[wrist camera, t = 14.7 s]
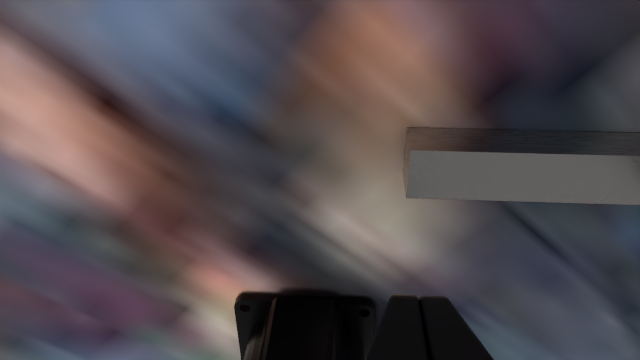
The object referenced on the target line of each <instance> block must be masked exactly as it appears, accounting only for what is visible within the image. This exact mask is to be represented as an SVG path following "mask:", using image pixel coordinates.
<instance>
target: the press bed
mask: <svg viewBox="0 0 640 360" xmlns="http://www.w3.org/2000/svg"><path fill="white" fill-rule="evenodd" d="M403 176H404V185H405V193H406V198H423V199H456V200H489V201H523V202H556V203H589V204H622V205H640V133H632V132H588V131H544V130H499V129H455V128H411V127H407V136H406V147H405V157H404V168H403Z"/></svg>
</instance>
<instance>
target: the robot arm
mask: <svg viewBox="0 0 640 360" xmlns="http://www.w3.org/2000/svg"><path fill="white" fill-rule="evenodd" d="M244 304H247V305H248V306H247V305H244ZM234 309H235V316H236V324H237V331H238V338H239V346H240V353H241V360H494V359H493V358H492V357H491V355H490V354H489V353H488V351H487V350H486V349H485V347H484V346H483V345H482V343H481V342H480V341H479V339H478V338H477V337H476V335H475V334H474V333H473V331H472V330H471V329H470V327H469V326H468V325H467V323H466V322H465V321H464V319H463V318H462V317H461V315H460V314H459V313H458V311H457V310H456V309H455V307H454V306H453V305H452V303H451V302H450V301H449V299H447V298H446V297H443V296H421V297H420V298H419V299H418V298H417V296H415V295H397V294H395V295H392V296H391V297H390V299H389V301H388V303H387V306H386V308H385V311H384V313H383V316H382V318H381V320H380V323H379V325H378V328H377V330H376V333H375V335H374V322H375V305H374V303H373V302H372V301H370V300H368V299H356V298H331V297H307V296H283V295H258V294H241V295H239V296H238V297H237V298H236V302H235V306H234ZM361 309H366V310H361Z"/></svg>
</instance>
